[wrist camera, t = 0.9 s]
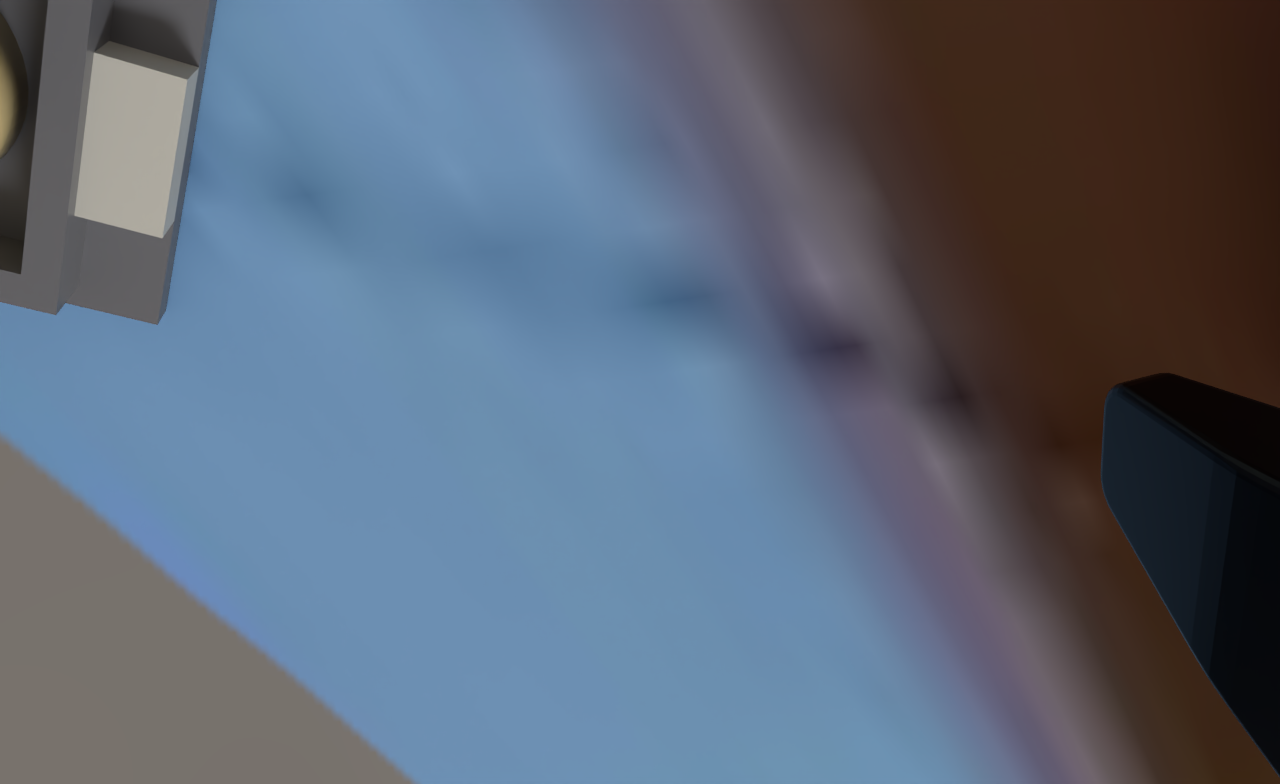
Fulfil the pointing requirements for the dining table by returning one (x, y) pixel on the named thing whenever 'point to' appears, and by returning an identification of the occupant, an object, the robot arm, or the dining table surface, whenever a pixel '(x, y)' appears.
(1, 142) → the beige round cylinder
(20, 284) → the fuse block
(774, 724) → the dining table surface
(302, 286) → the dining table surface
